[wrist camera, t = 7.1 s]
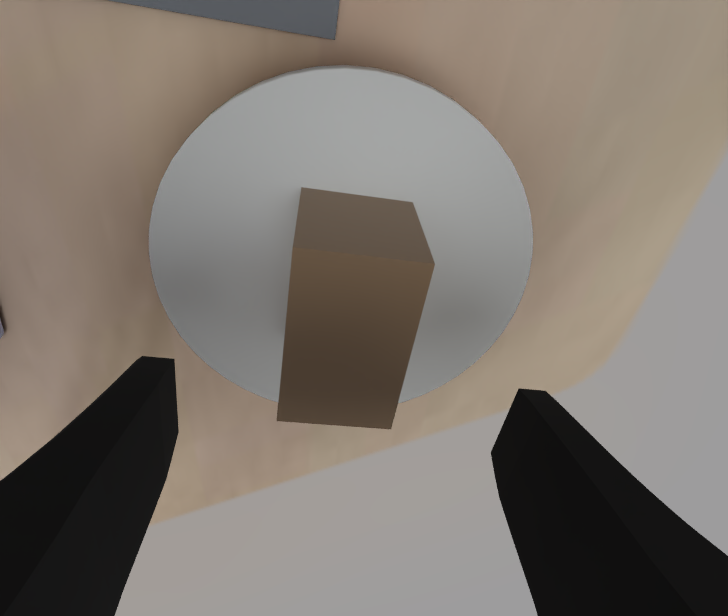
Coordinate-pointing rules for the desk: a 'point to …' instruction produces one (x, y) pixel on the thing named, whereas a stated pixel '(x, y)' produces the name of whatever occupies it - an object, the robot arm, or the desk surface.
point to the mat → (260, 13)
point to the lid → (340, 242)
